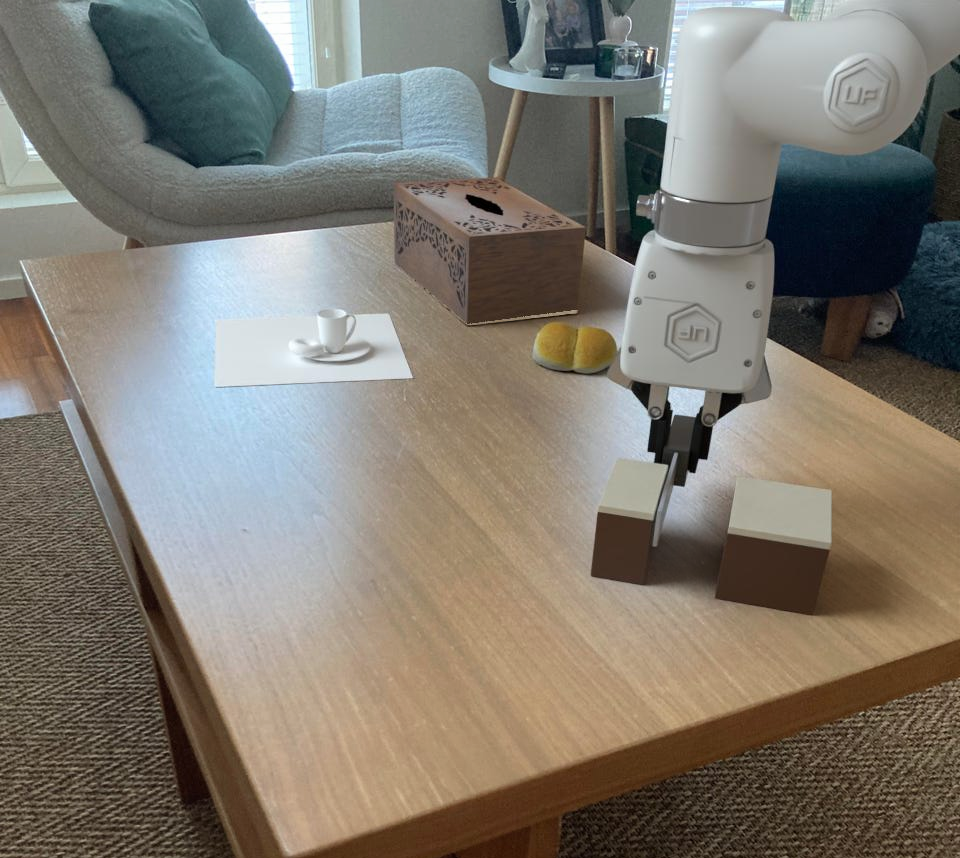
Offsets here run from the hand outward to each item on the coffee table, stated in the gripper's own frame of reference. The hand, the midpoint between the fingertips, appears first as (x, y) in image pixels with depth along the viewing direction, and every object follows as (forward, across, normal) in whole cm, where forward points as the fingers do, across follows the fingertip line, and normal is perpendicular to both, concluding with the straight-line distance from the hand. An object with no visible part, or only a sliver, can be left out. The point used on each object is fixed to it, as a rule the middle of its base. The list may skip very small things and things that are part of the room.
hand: (676, 461), depth 81 cm
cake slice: (+5, -2, -7) cm, 9 cm away
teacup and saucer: (+5, -42, +25) cm, 49 cm away
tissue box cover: (+5, -30, +52) cm, 60 cm away
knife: (+1, 0, -4) cm, 4 cm away
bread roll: (+5, -14, +31) cm, 34 cm away
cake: (+5, +8, -7) cm, 12 cm away
